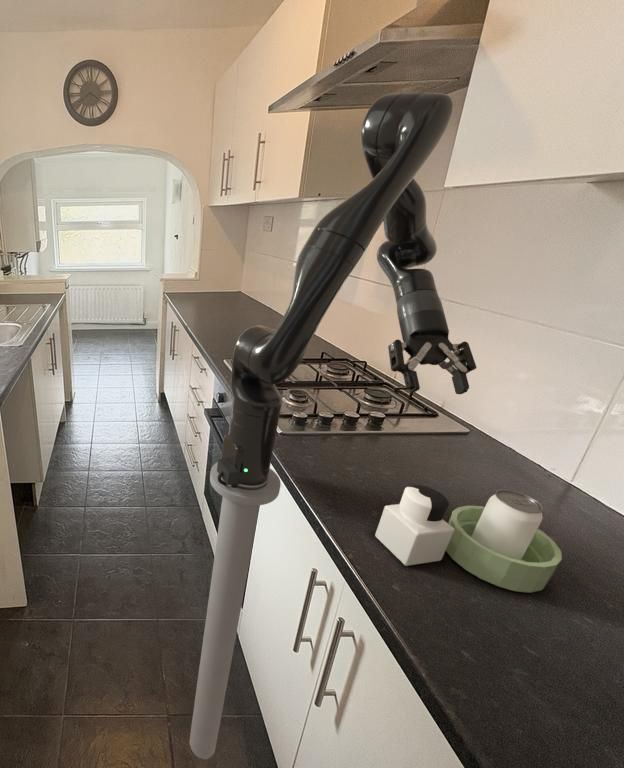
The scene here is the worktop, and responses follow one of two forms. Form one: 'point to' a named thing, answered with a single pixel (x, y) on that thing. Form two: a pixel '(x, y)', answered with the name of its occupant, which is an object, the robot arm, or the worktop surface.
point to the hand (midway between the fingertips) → (438, 392)
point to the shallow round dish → (495, 566)
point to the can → (508, 523)
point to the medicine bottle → (416, 526)
